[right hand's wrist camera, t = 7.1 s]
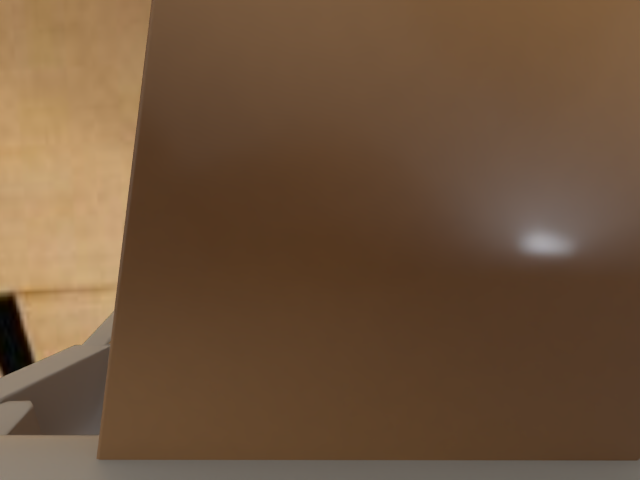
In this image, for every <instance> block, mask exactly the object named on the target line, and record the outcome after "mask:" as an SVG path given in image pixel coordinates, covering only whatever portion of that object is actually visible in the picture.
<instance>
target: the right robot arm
mask: <svg viewBox="0 0 640 480" xmlns="http://www.w3.org/2000/svg"><path fill="white" fill-rule="evenodd" d="M113 318H114V312H113V313H112V314H111V315H110V316H109V317H108V318H107V319H106V320H105V321H104V322H103V323H102V324H101V325H100V326H99V327H98V329H97V330H96V331H95V332H94V333H93V334H92V335H91V336H90V337H89V338H88V339H87V340H86V341H85V342H84V343H83V344H82V345H74V346H72V347H70V348H67V349H65V350H63V351H61V352H58V353H56V354H54V355H51V356H49V357H47V358H45V359H42V360H40V361H38V362H36V363H33V364H31V365H29V366H27V367H24V368H22V369H20V370H18V371H15V372H13V373H11V374H8V375H6V376H4V377H2V378H0V480H640V459H639V460H637V461H582V460H99V459H96V458H97V450H98V441H99V433H100V425H101V417H102V408H103V400H104V392H105V384H106V375H107V367H108V359H109V351H110V342H111V334H112V326H113Z"/></svg>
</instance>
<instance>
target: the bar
mask: <svg viewBox="0 0 640 480" xmlns="http://www.w3.org/2000/svg"><path fill="white" fill-rule="evenodd" d="M96 459H99V460H582V461H637V460H639V459H640V0H152V4H151V12H150V20H149V29H148V37H147V45H146V53H145V62H144V70H143V78H142V86H141V95H140V103H139V111H138V119H137V128H136V136H135V144H134V152H133V161H132V169H131V177H130V185H129V194H128V202H127V210H126V219H125V227H124V235H123V243H122V252H121V260H120V268H119V276H118V285H117V293H116V301H115V309H114V318H113V326H112V334H111V342H110V351H109V359H108V367H107V375H106V384H105V392H104V400H103V408H102V417H101V425H100V433H99V441H98V450H97V458H96Z"/></svg>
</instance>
